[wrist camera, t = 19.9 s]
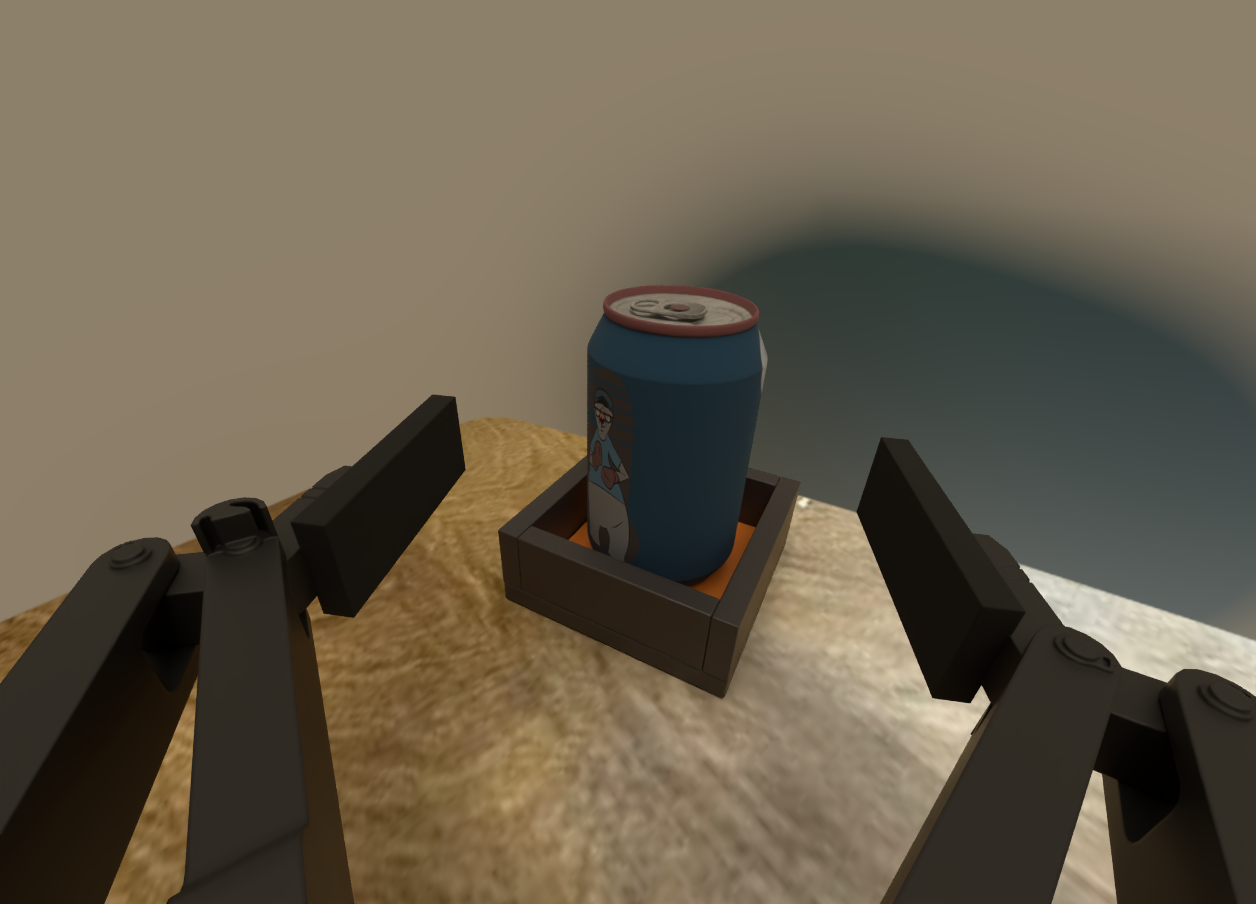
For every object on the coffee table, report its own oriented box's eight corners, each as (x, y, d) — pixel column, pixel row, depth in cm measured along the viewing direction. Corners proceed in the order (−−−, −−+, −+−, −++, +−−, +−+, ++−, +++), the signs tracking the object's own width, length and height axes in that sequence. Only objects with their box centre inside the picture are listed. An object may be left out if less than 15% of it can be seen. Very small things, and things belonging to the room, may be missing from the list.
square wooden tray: (505, 598, 24) (497, 530, 22) (615, 486, 32) (616, 429, 30) (723, 699, 20) (739, 627, 18) (785, 543, 28) (801, 481, 26)
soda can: (740, 525, 27) (784, 293, 21) (715, 623, 22) (765, 344, 16) (616, 496, 29) (623, 274, 23) (563, 579, 23) (554, 314, 17)
